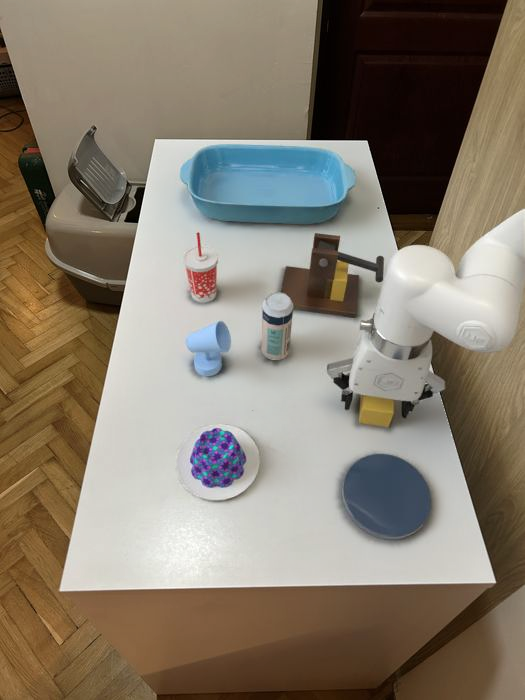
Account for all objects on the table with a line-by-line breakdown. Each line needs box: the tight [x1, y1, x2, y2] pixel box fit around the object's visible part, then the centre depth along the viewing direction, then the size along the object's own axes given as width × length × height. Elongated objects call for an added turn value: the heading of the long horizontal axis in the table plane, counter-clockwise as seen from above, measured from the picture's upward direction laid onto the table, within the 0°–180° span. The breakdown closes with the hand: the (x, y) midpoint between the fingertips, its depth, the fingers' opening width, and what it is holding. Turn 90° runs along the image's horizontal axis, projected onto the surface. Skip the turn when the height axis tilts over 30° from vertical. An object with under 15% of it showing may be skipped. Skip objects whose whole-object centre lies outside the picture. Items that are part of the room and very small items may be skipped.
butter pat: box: [358, 394, 395, 428], centre depth 81 cm, size 4×6×4 cm
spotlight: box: [185, 320, 232, 377], centre depth 84 cm, size 5×10×7 cm
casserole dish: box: [179, 143, 357, 225], centre depth 113 cm, size 37×22×7 cm, turn 89°
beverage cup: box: [182, 232, 219, 303], centre depth 93 cm, size 6×6×14 cm
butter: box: [324, 260, 350, 301], centre depth 95 cm, size 4×5×5 cm
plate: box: [341, 453, 432, 541], centre depth 73 cm, size 12×12×1 cm
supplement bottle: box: [260, 291, 294, 361], centre depth 85 cm, size 5×5×12 cm
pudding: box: [175, 423, 261, 501], centre depth 75 cm, size 12×12×5 cm
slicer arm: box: [317, 241, 385, 284], centre depth 91 cm, size 12×6×2 cm, turn 80°
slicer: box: [280, 232, 360, 319], centre depth 94 cm, size 14×10×12 cm
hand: (375, 406), depth 82 cm, fingers open, 8 cm apart
